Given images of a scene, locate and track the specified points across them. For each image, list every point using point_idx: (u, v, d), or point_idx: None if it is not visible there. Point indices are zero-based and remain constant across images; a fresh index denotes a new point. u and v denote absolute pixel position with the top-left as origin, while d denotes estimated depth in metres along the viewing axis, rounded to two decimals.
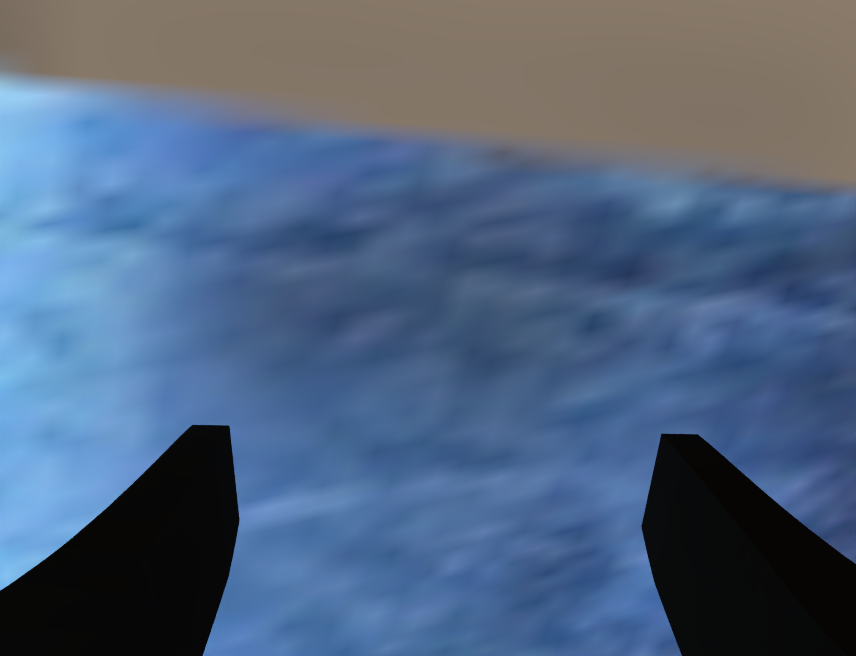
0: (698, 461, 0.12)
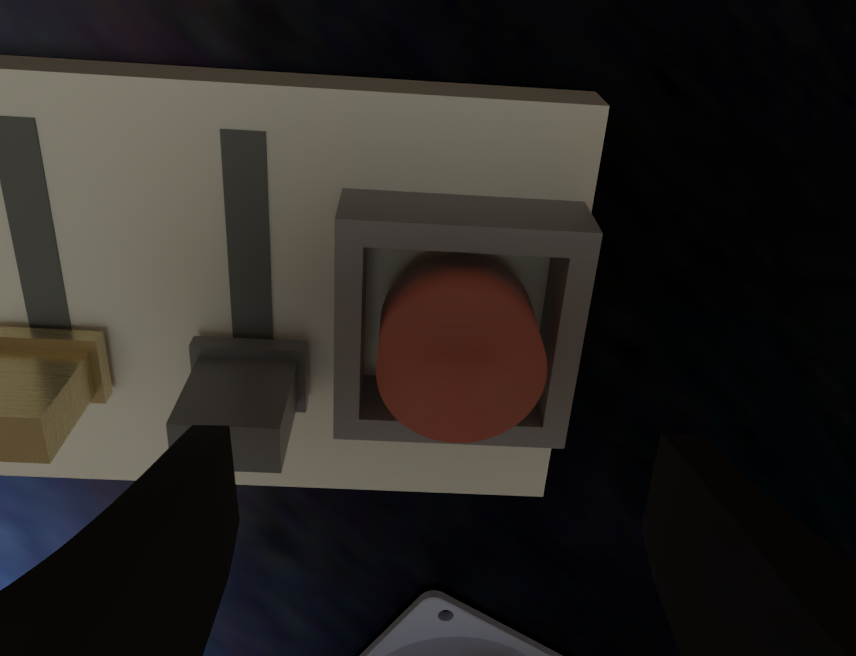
0: (698, 461, 0.12)
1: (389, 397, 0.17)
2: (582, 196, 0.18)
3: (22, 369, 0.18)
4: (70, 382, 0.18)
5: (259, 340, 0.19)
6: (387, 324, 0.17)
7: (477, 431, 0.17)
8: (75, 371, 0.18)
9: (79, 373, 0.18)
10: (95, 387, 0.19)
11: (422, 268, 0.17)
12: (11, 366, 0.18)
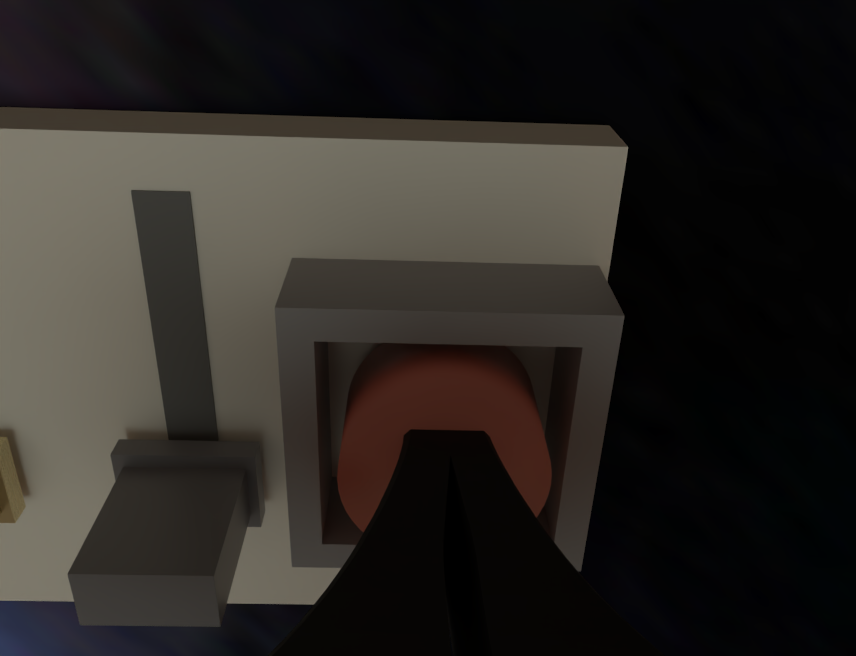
0: (465, 457, 0.12)
1: (356, 511, 0.13)
2: (596, 259, 0.14)
3: None
4: None
5: (199, 443, 0.16)
6: (350, 421, 0.13)
7: None
8: None
9: None
10: (0, 505, 0.16)
11: (393, 346, 0.14)
12: None
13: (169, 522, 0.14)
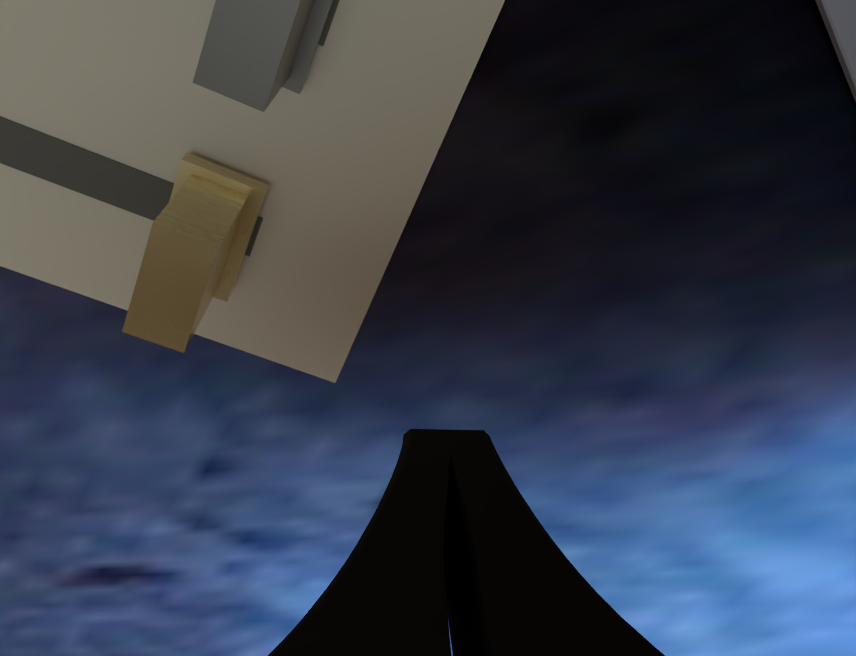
0: (464, 457, 0.12)
1: None
2: None
3: None
4: (182, 194, 0.15)
5: None
6: None
7: None
8: (183, 187, 0.16)
9: (192, 187, 0.16)
10: (240, 191, 0.16)
11: None
12: None
13: None
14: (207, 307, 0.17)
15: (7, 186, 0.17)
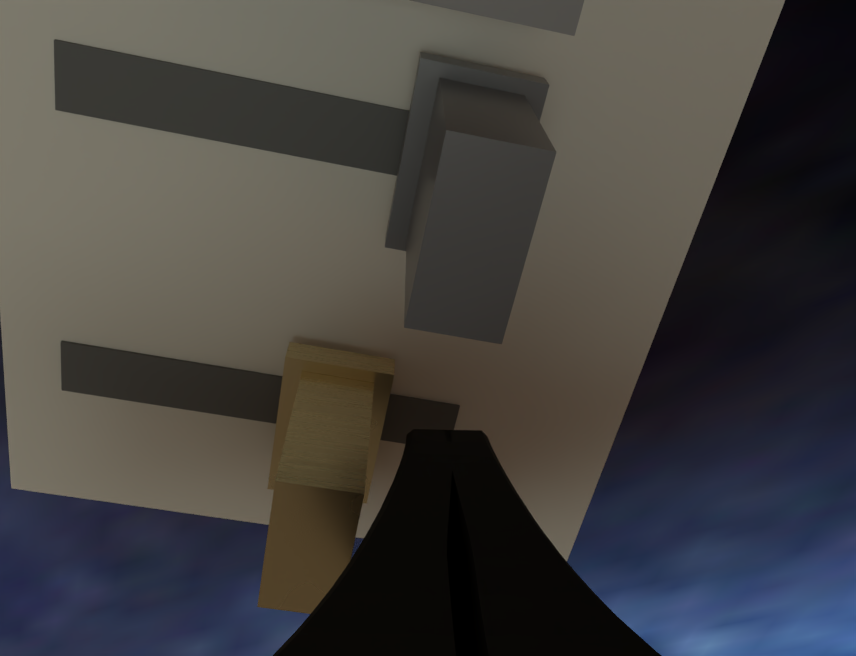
0: (462, 457, 0.12)
1: None
2: None
3: None
4: (298, 413, 0.12)
5: None
6: None
7: None
8: (296, 400, 0.12)
9: (307, 395, 0.12)
10: (363, 379, 0.13)
11: None
12: None
13: (424, 188, 0.10)
14: None
15: (155, 425, 0.14)
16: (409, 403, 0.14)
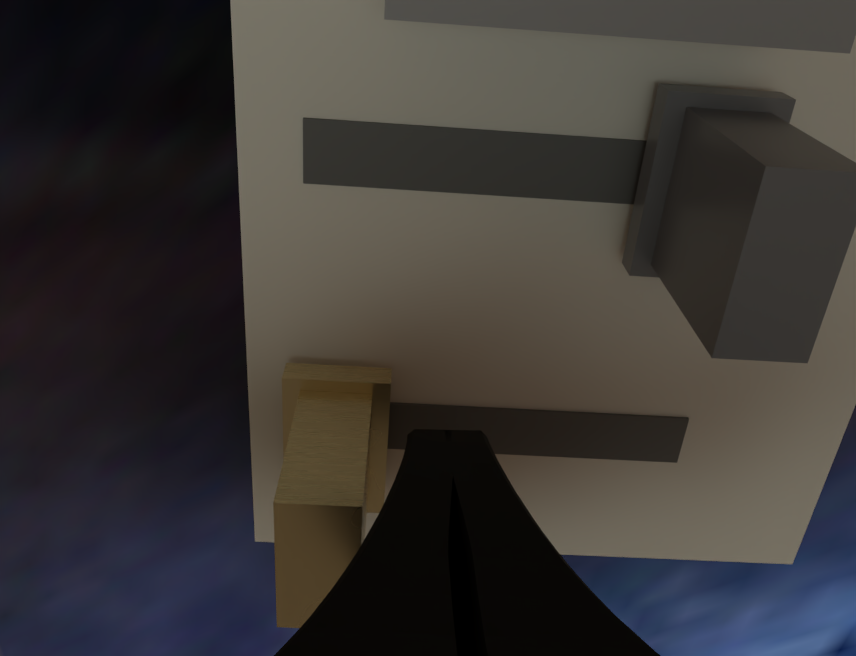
0: (461, 457, 0.12)
1: None
2: None
3: None
4: (296, 433, 0.12)
5: (643, 164, 0.12)
6: None
7: None
8: (295, 420, 0.12)
9: (305, 414, 0.12)
10: (361, 392, 0.13)
11: None
12: None
13: (704, 219, 0.10)
14: (364, 538, 0.13)
15: (391, 468, 0.15)
16: (638, 421, 0.14)
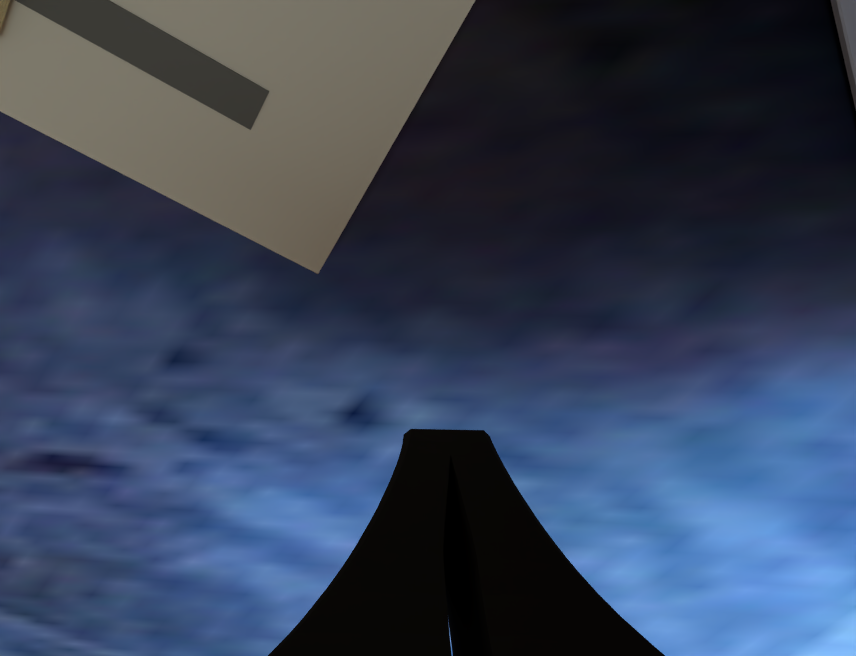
0: (465, 457, 0.12)
1: None
2: None
3: None
4: None
5: None
6: None
7: None
8: None
9: None
10: None
11: None
12: None
13: None
14: None
15: (13, 24, 0.17)
16: (230, 75, 0.18)
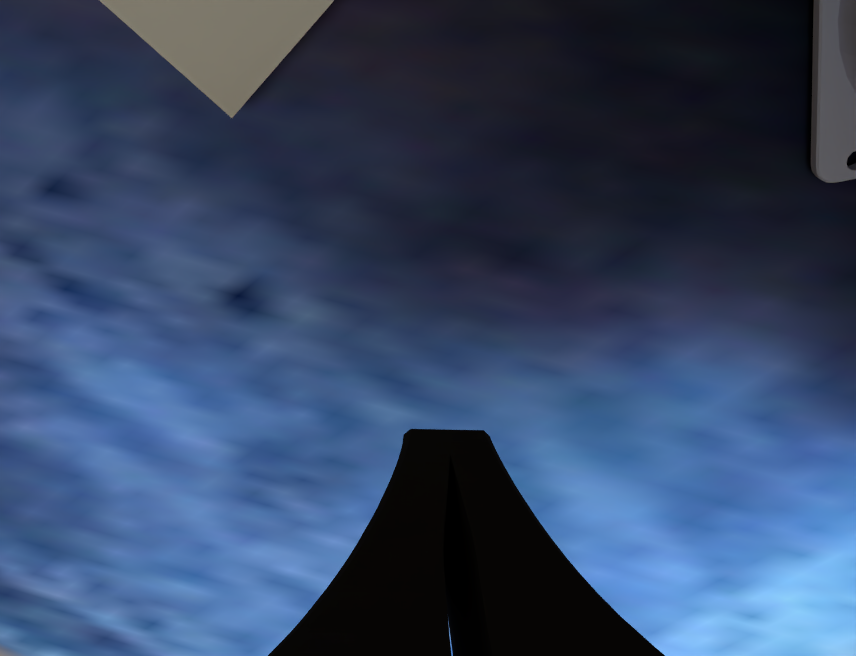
0: (465, 457, 0.12)
1: None
2: None
3: None
4: None
5: None
6: None
7: None
8: None
9: None
10: None
11: None
12: None
13: None
14: None
15: None
16: None
